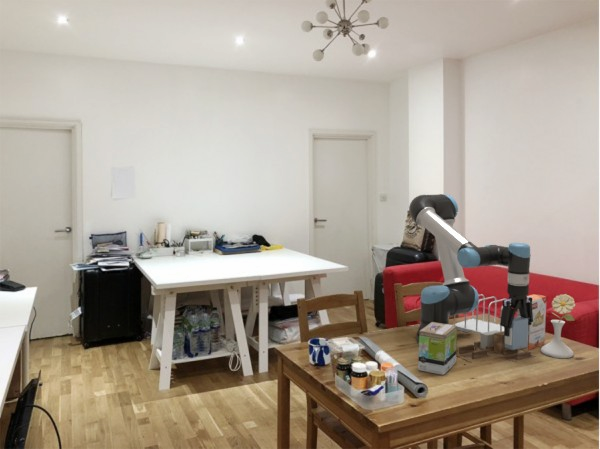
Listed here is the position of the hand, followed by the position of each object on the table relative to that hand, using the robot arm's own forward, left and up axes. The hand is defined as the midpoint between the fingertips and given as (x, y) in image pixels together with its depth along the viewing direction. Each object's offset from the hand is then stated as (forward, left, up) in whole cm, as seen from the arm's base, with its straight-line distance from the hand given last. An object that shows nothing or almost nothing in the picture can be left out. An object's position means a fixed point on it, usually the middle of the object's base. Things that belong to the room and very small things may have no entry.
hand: (516, 342), depth 192 cm
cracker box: (0, +17, -6) cm, 19 cm away
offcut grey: (-11, +4, -5) cm, 13 cm away
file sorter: (-24, +29, -7) cm, 38 cm away
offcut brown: (-5, +2, -5) cm, 8 cm away
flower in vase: (+12, +12, -6) cm, 18 cm away
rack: (-5, +2, -6) cm, 8 cm away
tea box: (-18, -28, -6) cm, 34 cm away
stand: (-13, -10, -6) cm, 17 cm away
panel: (0, 0, -2) cm, 2 cm away
